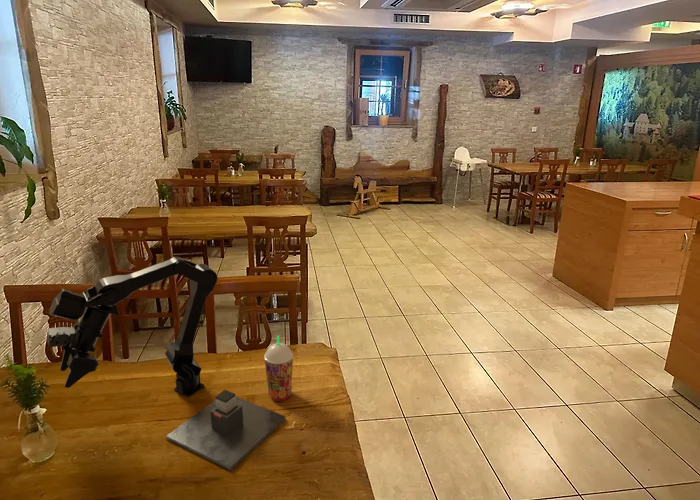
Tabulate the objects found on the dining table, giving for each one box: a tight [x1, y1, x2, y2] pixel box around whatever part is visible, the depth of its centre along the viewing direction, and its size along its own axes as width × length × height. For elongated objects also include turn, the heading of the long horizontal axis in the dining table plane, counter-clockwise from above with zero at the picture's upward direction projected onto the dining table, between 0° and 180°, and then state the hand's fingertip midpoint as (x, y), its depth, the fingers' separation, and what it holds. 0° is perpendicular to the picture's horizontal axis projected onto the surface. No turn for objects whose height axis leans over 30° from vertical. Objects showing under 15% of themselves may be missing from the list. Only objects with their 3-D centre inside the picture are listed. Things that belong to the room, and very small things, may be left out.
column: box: [215, 389, 237, 416], centre depth 127 cm, size 4×4×9 cm
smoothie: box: [263, 335, 294, 402], centre depth 140 cm, size 8×8×20 cm
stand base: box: [165, 396, 287, 472], centre depth 128 cm, size 22×22×6 cm
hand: (64, 378), depth 124 cm, fingers open, 9 cm apart
